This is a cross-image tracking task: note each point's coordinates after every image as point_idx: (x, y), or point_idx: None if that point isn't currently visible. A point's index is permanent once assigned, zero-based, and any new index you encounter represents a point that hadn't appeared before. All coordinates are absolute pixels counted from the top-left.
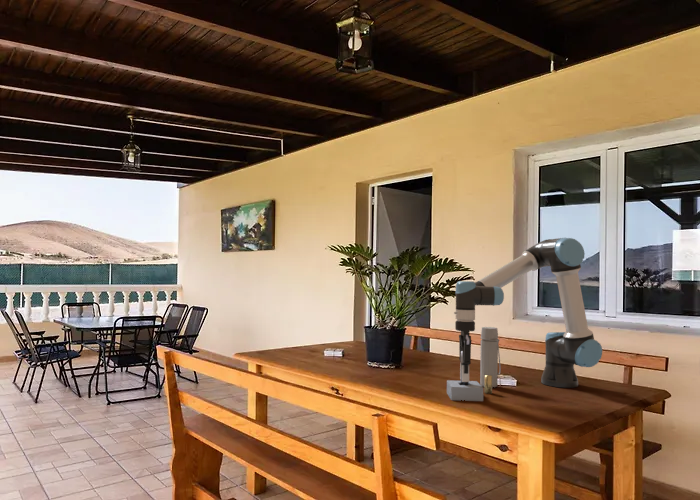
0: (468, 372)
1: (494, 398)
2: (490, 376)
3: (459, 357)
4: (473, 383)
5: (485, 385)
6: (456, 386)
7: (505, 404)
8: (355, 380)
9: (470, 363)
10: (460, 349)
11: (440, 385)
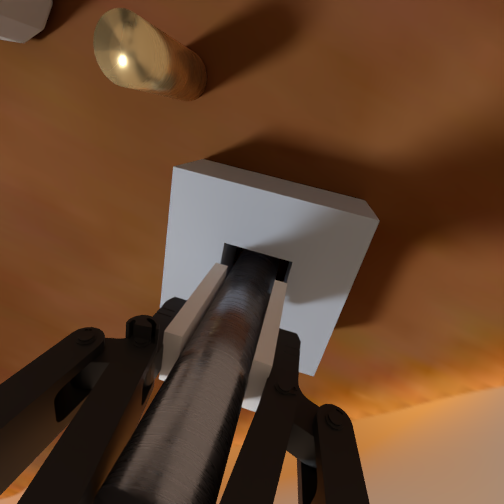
0: (279, 326)
1: (319, 99)
2: (153, 41)
3: (69, 387)
4: (241, 223)
5: (174, 94)
6: (307, 350)
7: (479, 96)
8: (39, 459)
9: (345, 416)
10: (2, 487)
11: (51, 257)
